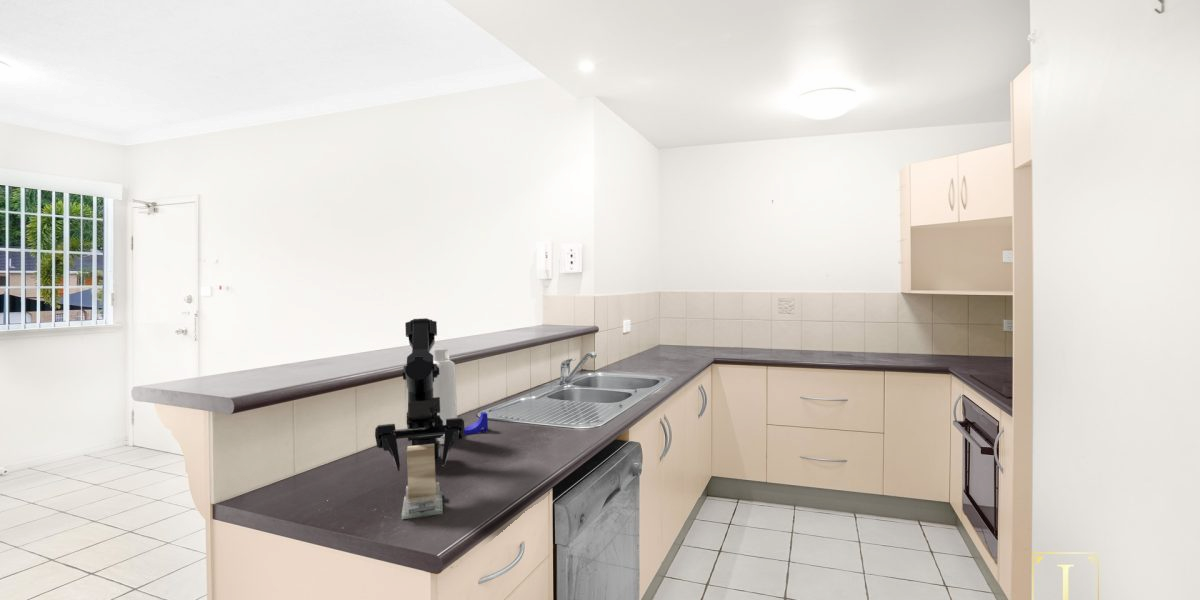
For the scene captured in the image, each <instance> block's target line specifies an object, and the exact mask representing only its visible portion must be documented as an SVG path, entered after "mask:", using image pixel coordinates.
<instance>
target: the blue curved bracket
mask: <svg viewBox="0 0 1200 600" xmlns="http://www.w3.org/2000/svg"><path fill="white" fill-rule="evenodd" d="M488 425H489V423H488V413H487V412H486V411H482V412H480V416H479V419H478V420H476V421H475V422H474V423H472V424H471V425H468V426H466V427H464V436H465V434H467V435H473V433H474V434H480V433H479V432H482V433H487V432H486V431H488V432H489V426H488ZM483 431H484V432H483Z"/></svg>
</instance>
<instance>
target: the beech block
mask: <svg viewBox="0 0 1200 600" xmlns="http://www.w3.org/2000/svg"><path fill="white" fill-rule="evenodd" d="M406 463H407V465H406V467H407V468H406V469H407V486H408V498H409V499H410V498H418V497H426V496H433V495H436V482H437V481H436V462H435V452H434V444H425V445H416V446H412V445H407V448H406Z"/></svg>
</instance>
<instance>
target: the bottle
mask: <svg viewBox="0 0 1200 600" xmlns="http://www.w3.org/2000/svg"><path fill="white" fill-rule="evenodd" d="M432 353H433V354H432V355H433V362H434V364H436V365H437V367H439V375H438V376H437V378H434V382H433V397H434V398H435V397H440V413H437V416H438V415H440V418H441V419H442V420H443V425H446V419H450V418H458V406H457V376H456V375H457V374H456V363H455V362H454V361H452V360H451V359H450V348H449V347H438V348H433V349H432ZM444 439H445V434H443V436H441V438H438V441H440V445H444Z"/></svg>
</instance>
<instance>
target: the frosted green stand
mask: <svg viewBox="0 0 1200 600" xmlns="http://www.w3.org/2000/svg"><path fill="white" fill-rule="evenodd" d="M405 487H406V488H405V495H404V498H403V503H402V509H401V510H402V511H401V520H407V519H415V518H424V517H429V516H437V515H443V512H444V511H443V491H442V490H441V489H440V482H439V481H436V495H433V496H426V497H418V498H410V499H409V498H408V485H406V486H405ZM440 490H441V491H440Z"/></svg>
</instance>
